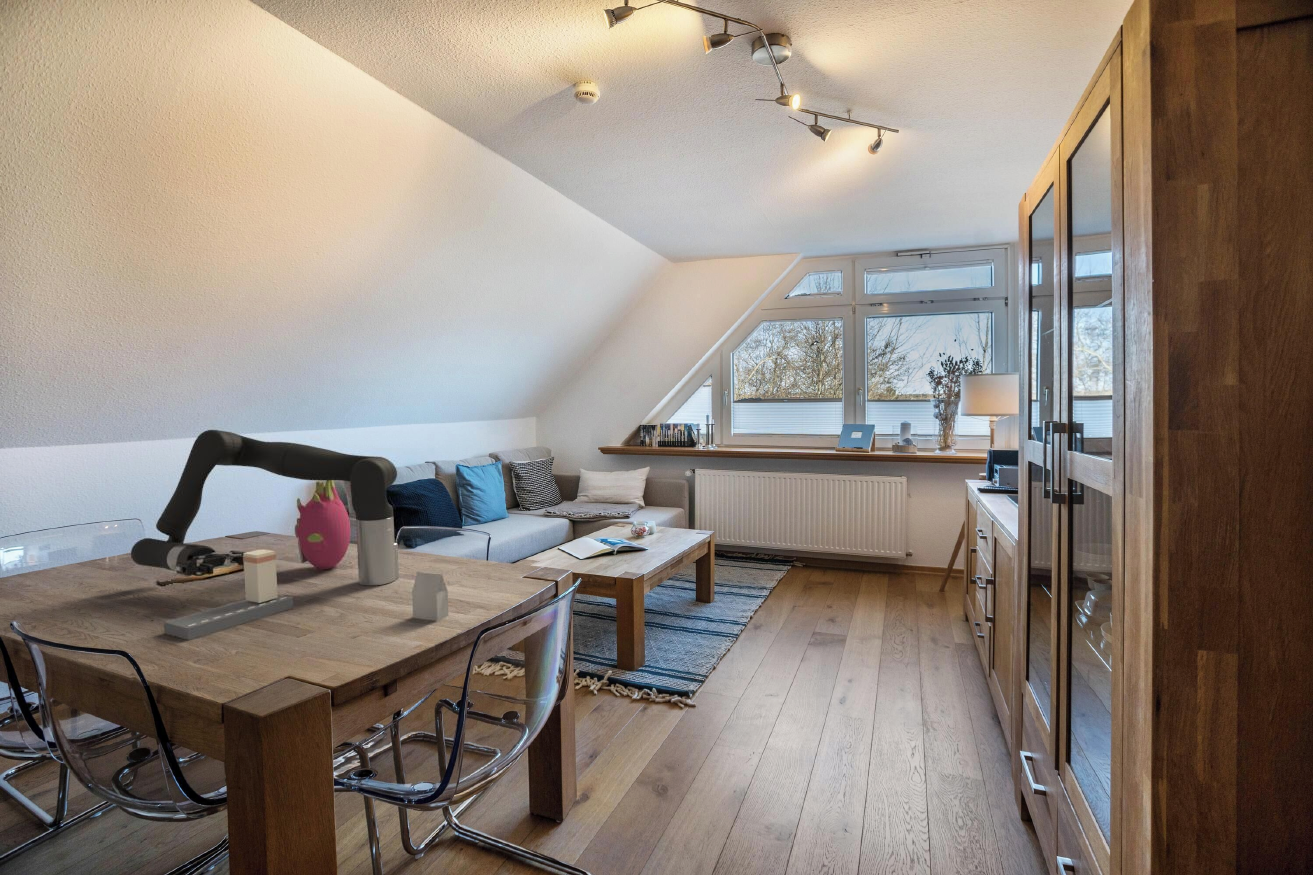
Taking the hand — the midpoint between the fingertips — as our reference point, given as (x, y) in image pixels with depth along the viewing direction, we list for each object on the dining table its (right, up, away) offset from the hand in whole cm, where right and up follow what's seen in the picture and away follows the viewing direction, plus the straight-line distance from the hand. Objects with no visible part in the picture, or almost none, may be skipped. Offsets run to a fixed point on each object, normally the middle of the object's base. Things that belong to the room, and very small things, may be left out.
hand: (230, 565), depth 163 cm
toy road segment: (+7, -10, -11) cm, 17 cm away
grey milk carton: (+52, -10, -11) cm, 54 cm away
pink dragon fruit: (+7, -7, +33) cm, 35 cm away
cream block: (+11, -7, -5) cm, 14 cm away
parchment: (-24, -8, +29) cm, 38 cm away
